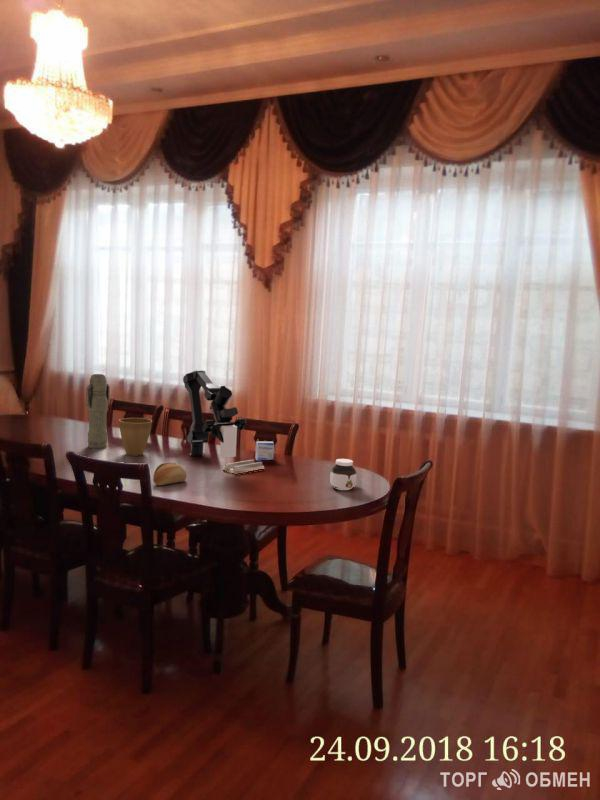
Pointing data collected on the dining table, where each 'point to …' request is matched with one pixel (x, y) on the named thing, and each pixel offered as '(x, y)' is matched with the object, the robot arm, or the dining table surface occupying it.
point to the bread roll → (169, 474)
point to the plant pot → (135, 434)
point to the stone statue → (97, 410)
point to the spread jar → (343, 474)
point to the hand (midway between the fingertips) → (229, 441)
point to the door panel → (228, 441)
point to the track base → (243, 466)
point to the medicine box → (264, 450)
